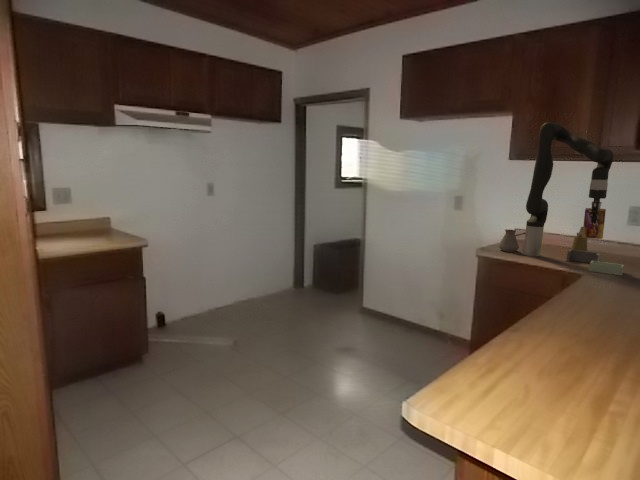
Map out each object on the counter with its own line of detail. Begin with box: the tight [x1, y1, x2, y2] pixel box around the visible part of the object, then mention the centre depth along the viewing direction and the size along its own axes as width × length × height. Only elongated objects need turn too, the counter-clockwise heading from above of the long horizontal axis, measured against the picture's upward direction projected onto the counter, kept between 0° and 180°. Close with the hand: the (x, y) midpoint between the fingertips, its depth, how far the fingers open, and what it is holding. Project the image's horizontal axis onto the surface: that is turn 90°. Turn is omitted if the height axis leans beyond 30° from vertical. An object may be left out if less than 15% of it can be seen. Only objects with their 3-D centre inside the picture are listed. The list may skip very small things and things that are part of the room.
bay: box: [566, 248, 601, 264], centre depth 234 cm, size 14×8×6 cm, turn 52°
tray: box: [588, 260, 625, 276], centre depth 215 cm, size 14×9×4 cm, turn 52°
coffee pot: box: [498, 229, 526, 253], centre depth 258 cm, size 21×12×15 cm, turn 61°
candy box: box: [582, 207, 607, 240], centre depth 220 cm, size 9×4×15 cm, turn 54°
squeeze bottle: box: [570, 226, 588, 251], centre depth 248 cm, size 8×8×18 cm
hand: (594, 222), depth 220 cm, fingers closed on candy box, 4 cm apart
